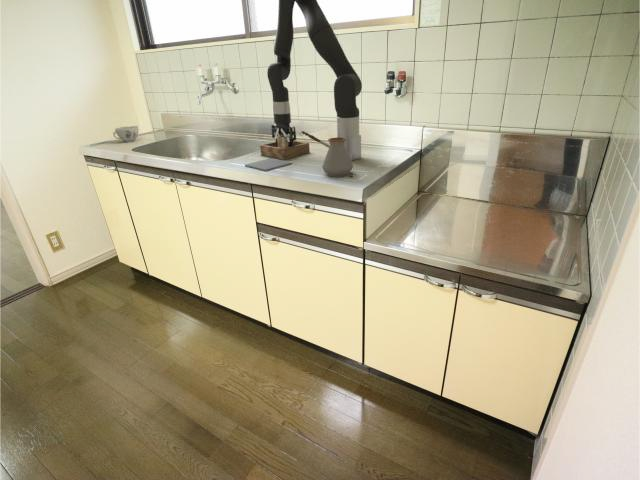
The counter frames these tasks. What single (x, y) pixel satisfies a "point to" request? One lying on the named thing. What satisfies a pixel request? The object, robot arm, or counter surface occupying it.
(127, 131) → the teacup
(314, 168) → the counter surface
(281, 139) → the maple block
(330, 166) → the coffee pot
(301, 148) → the walnut crate
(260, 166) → the charcoal mat
